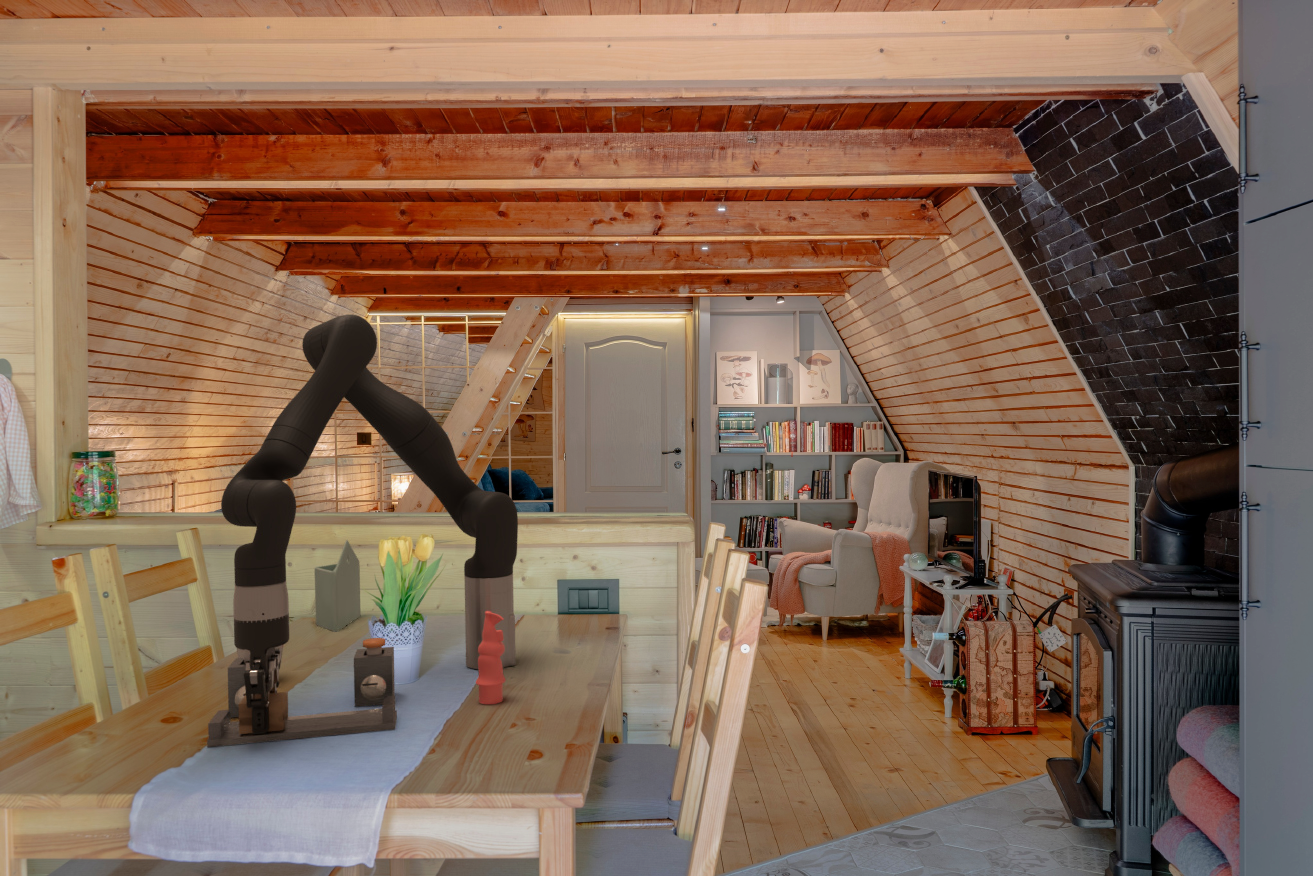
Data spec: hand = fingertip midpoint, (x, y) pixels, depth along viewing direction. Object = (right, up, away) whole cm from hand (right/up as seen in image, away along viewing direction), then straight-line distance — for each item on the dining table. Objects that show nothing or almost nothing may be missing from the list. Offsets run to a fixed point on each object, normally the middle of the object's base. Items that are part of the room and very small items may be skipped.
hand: (264, 726), depth 130 cm
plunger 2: (+11, +5, +16) cm, 20 cm away
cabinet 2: (+11, -1, +16) cm, 20 cm away
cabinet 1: (-7, -1, +12) cm, 14 cm away
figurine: (+31, -1, +15) cm, 35 cm away
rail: (+6, -1, +1) cm, 6 cm away
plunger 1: (-7, +6, +12) cm, 15 cm away
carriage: (0, 0, 0) cm, 0 cm away
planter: (-17, -1, +74) cm, 76 cm away
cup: (-13, -1, +28) cm, 31 cm away
